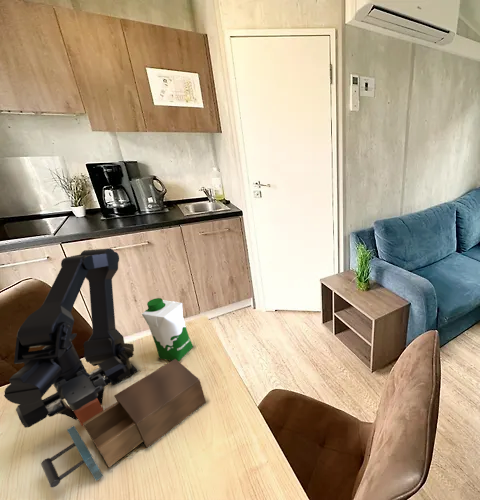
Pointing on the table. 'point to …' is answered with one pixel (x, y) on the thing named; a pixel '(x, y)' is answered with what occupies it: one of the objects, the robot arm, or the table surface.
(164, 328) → the milk carton
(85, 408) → the block
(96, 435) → the drawer
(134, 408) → the cabinet
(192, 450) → the table surface
